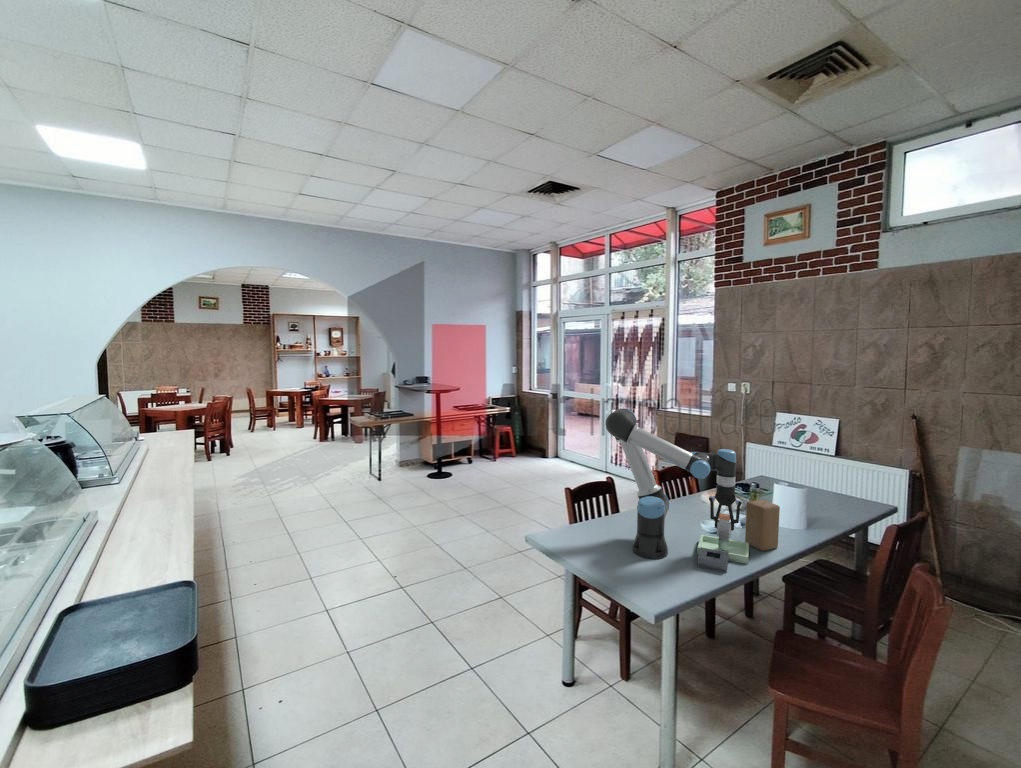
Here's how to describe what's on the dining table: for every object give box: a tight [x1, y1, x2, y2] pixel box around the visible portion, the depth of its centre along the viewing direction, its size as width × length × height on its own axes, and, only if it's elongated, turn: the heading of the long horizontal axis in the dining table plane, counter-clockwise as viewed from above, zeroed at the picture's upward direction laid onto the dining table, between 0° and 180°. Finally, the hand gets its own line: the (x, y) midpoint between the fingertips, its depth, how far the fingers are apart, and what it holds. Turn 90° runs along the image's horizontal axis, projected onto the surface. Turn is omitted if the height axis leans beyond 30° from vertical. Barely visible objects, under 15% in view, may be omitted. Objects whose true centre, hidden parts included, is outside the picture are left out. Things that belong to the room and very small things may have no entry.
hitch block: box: [697, 547, 729, 573], centre depth 197 cm, size 11×11×4 cm
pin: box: [718, 512, 731, 551], centre depth 208 cm, size 5×5×15 cm
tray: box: [696, 534, 750, 565], centre depth 208 cm, size 20×16×3 cm
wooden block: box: [744, 499, 781, 552], centre depth 214 cm, size 10×10×20 cm
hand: (723, 535), depth 208 cm, fingers closed on pin, 4 cm apart
